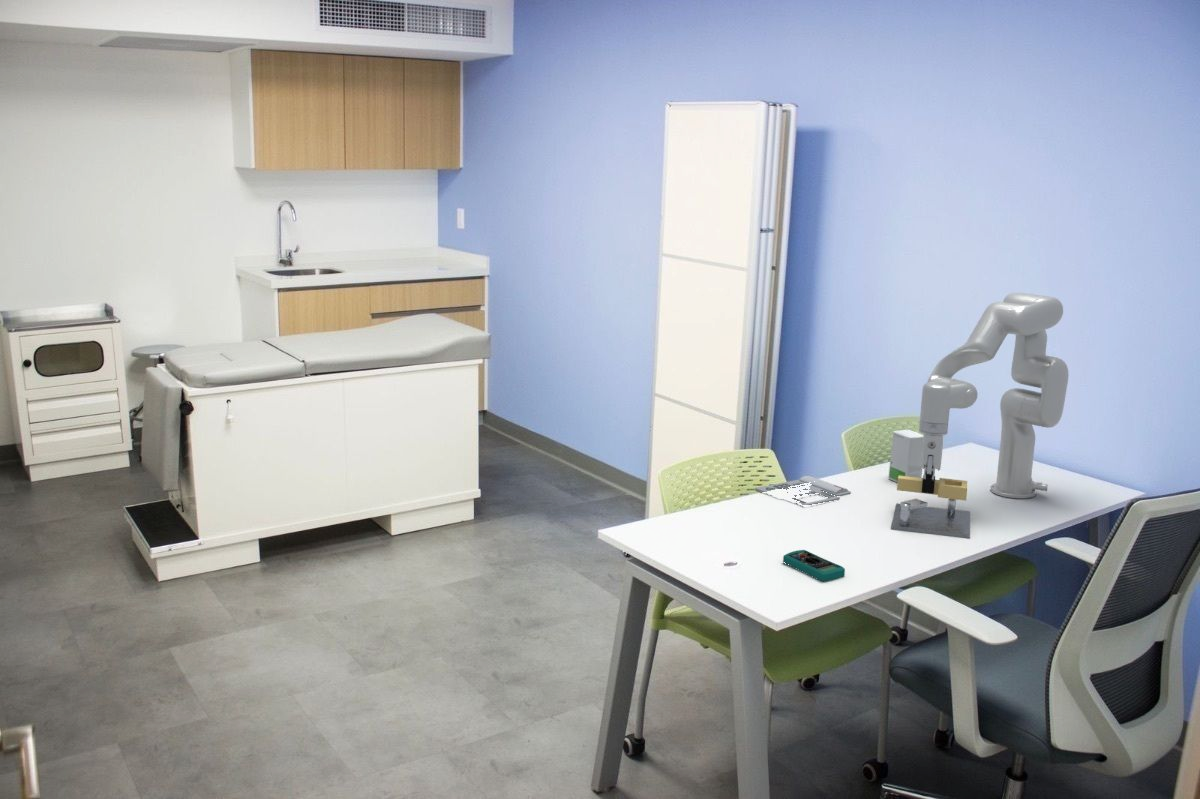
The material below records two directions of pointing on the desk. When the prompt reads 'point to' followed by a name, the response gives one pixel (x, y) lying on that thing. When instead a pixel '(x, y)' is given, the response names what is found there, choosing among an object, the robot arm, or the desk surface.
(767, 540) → the desk surface
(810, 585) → the desk surface
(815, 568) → the digital multimeter
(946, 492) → the link
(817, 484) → the office telephone
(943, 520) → the pintle plate
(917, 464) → the skincare box
